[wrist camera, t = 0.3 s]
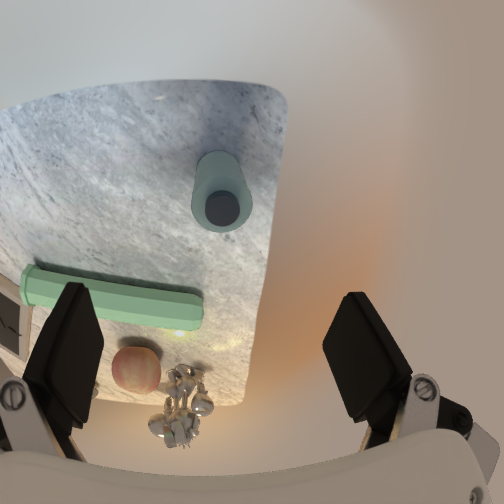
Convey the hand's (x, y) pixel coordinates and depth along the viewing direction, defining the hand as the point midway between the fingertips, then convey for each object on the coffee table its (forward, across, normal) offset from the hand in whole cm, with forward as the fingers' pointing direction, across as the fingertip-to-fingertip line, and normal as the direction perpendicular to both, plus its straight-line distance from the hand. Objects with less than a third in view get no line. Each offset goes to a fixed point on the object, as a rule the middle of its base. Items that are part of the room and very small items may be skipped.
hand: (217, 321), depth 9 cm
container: (+21, +12, +16) cm, 29 cm away
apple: (+21, +10, +29) cm, 37 cm away
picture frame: (+21, +39, +25) cm, 51 cm away
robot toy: (+21, +4, +37) cm, 43 cm away
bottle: (+20, -1, 0) cm, 20 cm away
